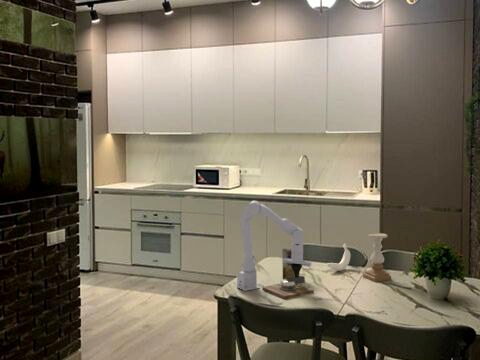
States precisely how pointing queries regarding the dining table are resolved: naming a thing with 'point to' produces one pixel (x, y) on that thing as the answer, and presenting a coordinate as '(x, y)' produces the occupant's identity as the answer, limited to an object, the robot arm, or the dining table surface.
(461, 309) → the dining table surface
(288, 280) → the steel cap
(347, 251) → the banana
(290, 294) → the post base
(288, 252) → the coffee box
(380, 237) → the candle holder
